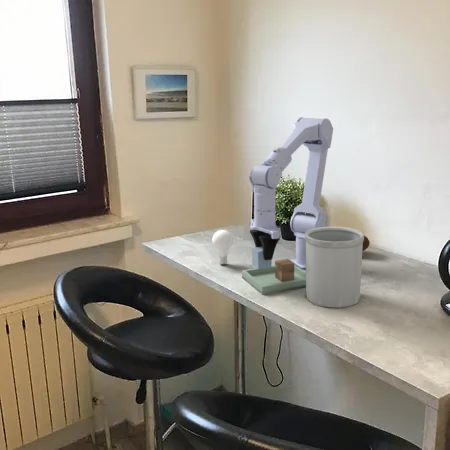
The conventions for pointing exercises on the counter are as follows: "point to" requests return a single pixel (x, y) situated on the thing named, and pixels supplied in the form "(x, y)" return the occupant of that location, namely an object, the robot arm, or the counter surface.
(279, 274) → the walnut block
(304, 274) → the tray
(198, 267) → the counter surface
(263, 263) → the bluegrey block
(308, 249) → the utensil holder
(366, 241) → the potato
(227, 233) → the lightbulb
